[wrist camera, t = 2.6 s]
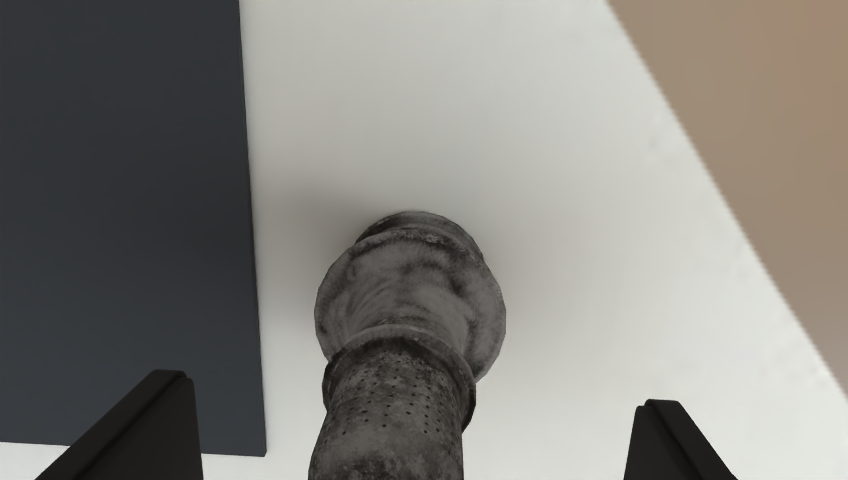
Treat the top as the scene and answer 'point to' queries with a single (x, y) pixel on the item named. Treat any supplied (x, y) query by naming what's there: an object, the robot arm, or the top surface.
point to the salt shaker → (404, 350)
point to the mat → (125, 216)
